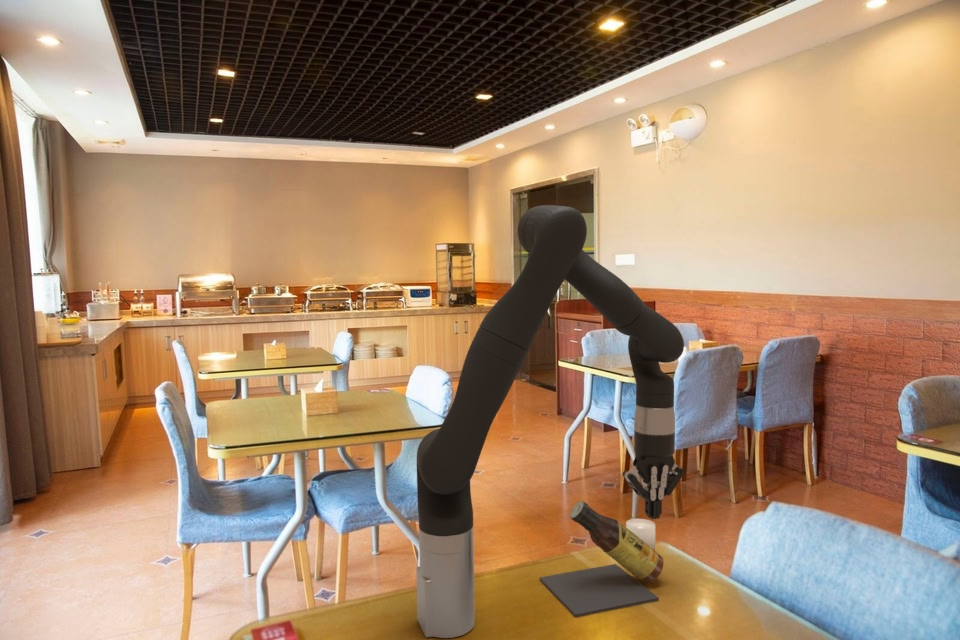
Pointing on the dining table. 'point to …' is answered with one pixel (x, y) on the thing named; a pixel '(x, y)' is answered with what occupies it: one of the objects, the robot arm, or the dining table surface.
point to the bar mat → (597, 590)
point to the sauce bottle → (619, 543)
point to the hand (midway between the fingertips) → (653, 517)
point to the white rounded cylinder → (643, 530)
